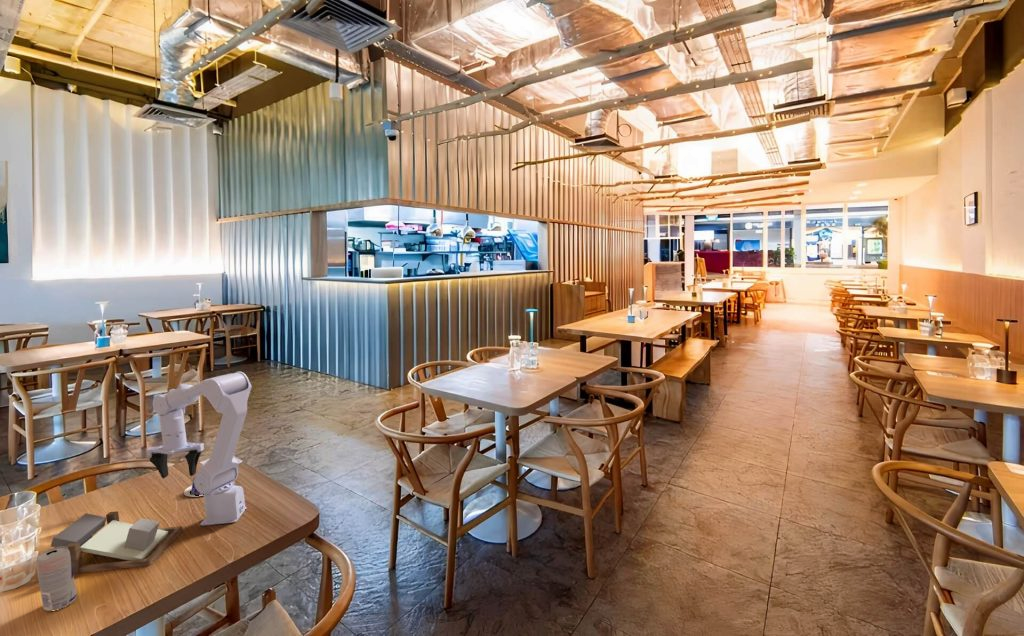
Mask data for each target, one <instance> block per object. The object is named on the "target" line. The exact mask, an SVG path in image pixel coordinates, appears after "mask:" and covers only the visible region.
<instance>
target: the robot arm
mask: <svg viewBox="0 0 1024 636" xmlns="http://www.w3.org/2000/svg"><path fill="white" fill-rule="evenodd" d="M252 387H253V386H252V384H251V381H250V380H249V377H248V376H247V375H246V374H245V372H242V371H236V372H234V373H233V372H232V373H227V374H223V375H218V376H215V377H211V378H206V379H204V380H202V381H200V382H197V383H196V384H194V385H193V384H186V383H182V384H178V385H177V388H176V389H175V388H171V389H169V390H168V392H166V393H163V394H156V396H155V397H153V398H152V399H153V400H152V408H153V410H154V412H155V414H158V416H159V417H158V418H159V423H160V431H161V439H162V445H158V446H150V447H149V448H148V449H146V455H147V456H148V457H150V456H151V457H150V458H149V462H150V463H151V464H152V465H153V466H154V467H155V468H156V470H157V471H158V473H159V475H160V477H161V479H165V478H167V477H168V476H169V467H168V455H171V454H176V453H177V454H178V453H186V454H185V456H184V458H185V459H186V463H187V465H188V473H189V477H193V476H194V477H195V478H194V477H193V479H194V485H195V488H196V489H197V491H199V492H200V493H202V494H201V495H203V494H204V495H203V502H204V508H205V518H204V519H203V520H202V521H201V523H200V524H199V525H200V526H201V527H202V526H211V525H212V526H213V525H221V524H230V523H237V521H238V520H239V519H240V518H241V516H242V515H243V513H244V512H245V509H246V510H247V506H246V501H245V491H244V488H243V486H241V485H236V482H235V481H236V480H237V479H238V476H239V464H240V463H239V461H238V460H237V458H235V457H234V456H235V452H236V449H237V446H238V442H239V439H240V435H241V433H242V430H243V426H244V424H245V423H244V422H245V420H246V418H247V417H246V416H247V414H248V400H249V396H250V393H251V390H252ZM200 396H203V397H204V398H206V399H207V400H208V402H209V403H210V404H211V406H212V407H213V409H214V410H215V411H216V413H219V414H222V416H221V420H220V423H219V427H218V430H217V434H216V436H215V439H214V440H215V441H214V443H213V448H212V450H211V454H210V458H209V459H208V460H207V461H206V462H205V463H204V464H202V466H201V467H200V468H199V471H198V472H197V466H198V462H199V459H200V457H201V454H202V452H203V450H205V445H204V442H200V443H197V442H187V433H186V425H185V424H186V423H185V418H184V415H185V413H186V407H188V406H190V405H192V404H195V403H196V402H197V401H198V400H199V398H200Z"/></svg>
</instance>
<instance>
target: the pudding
mask: <svg viewBox="0 0 1024 636" xmlns="http://www.w3.org/2000/svg"><path fill="white" fill-rule="evenodd" d="M194 478H195V476H194V477H193V479H192V484H191V485H190V486H188V487H187V488H186V489H184V491H183V495H185V496H186V497H193V498H195V497H197V496H195V495H194V494H199V496H198V497H201V496H203V497H204V495H203V494H202V493H201V494H200V492H199V491H197V489H196V488H195V485H194ZM190 491H191V494H193V495H190V493H189V492H190Z"/></svg>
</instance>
